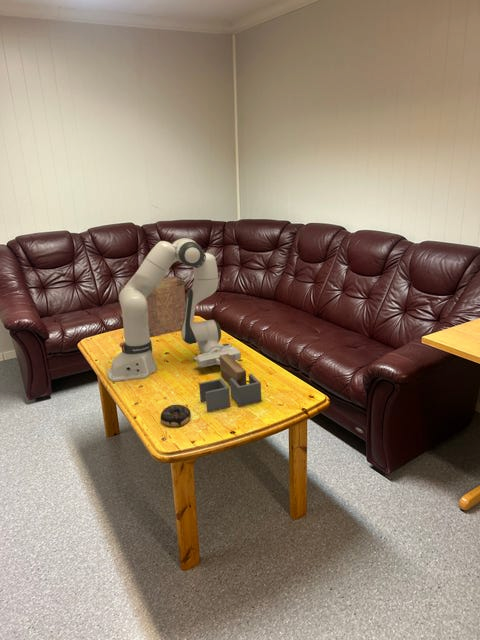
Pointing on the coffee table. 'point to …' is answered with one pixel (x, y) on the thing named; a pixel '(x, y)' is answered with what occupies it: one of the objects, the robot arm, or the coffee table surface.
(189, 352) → the coffee table surface
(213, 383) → the end cap
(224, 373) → the slat
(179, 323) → the book
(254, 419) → the coffee table surface
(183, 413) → the donut
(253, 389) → the end cap
